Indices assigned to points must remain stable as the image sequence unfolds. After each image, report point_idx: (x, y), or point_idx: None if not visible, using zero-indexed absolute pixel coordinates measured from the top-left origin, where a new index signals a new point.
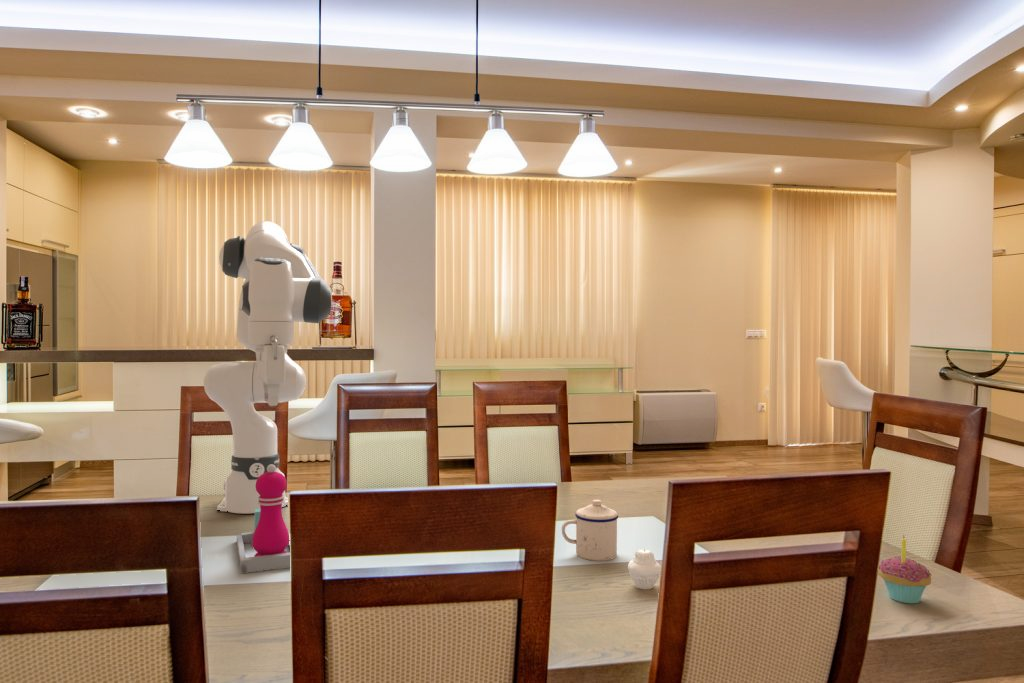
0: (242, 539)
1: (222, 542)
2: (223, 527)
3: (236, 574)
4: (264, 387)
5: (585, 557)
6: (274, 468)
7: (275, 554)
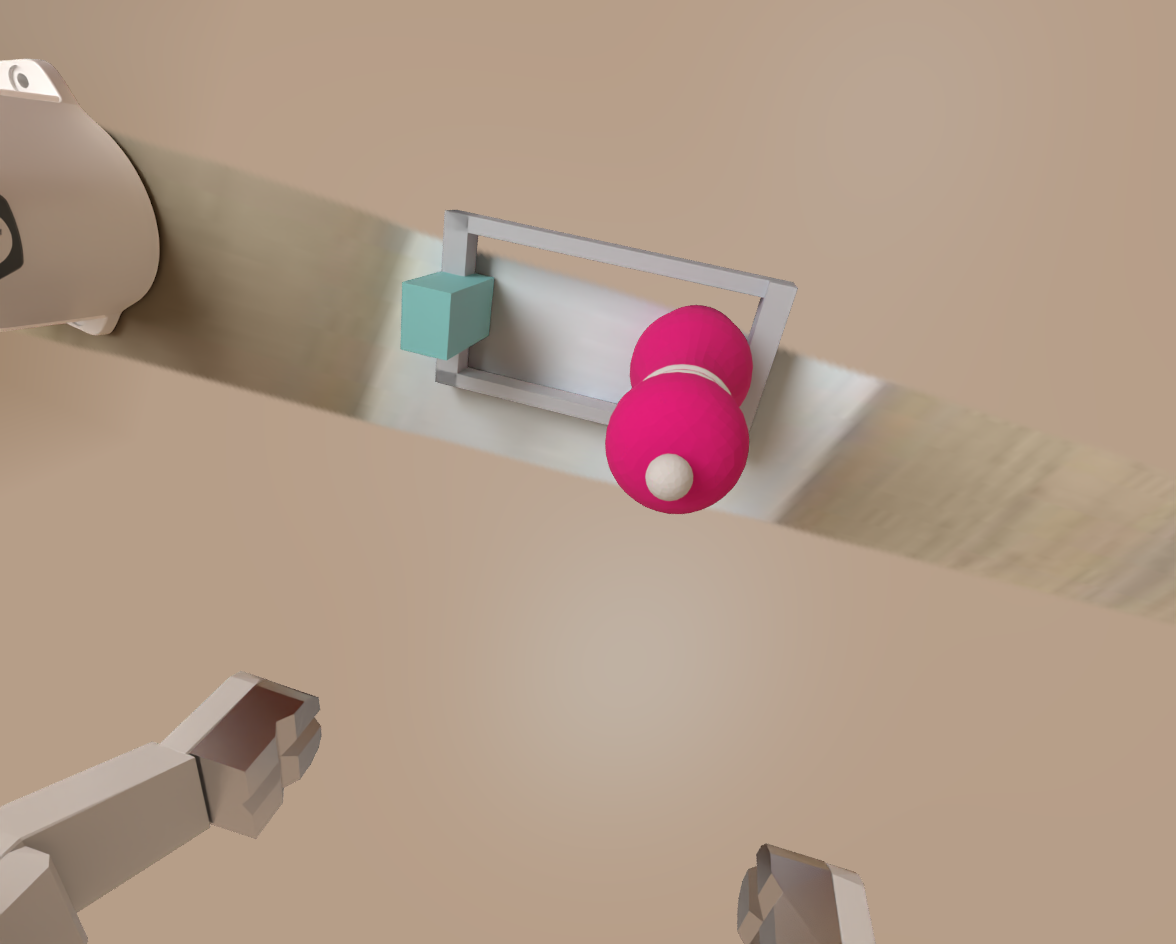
0: (503, 385)
1: (434, 408)
2: (286, 364)
3: None
4: (112, 882)
5: None
6: (689, 470)
7: None
